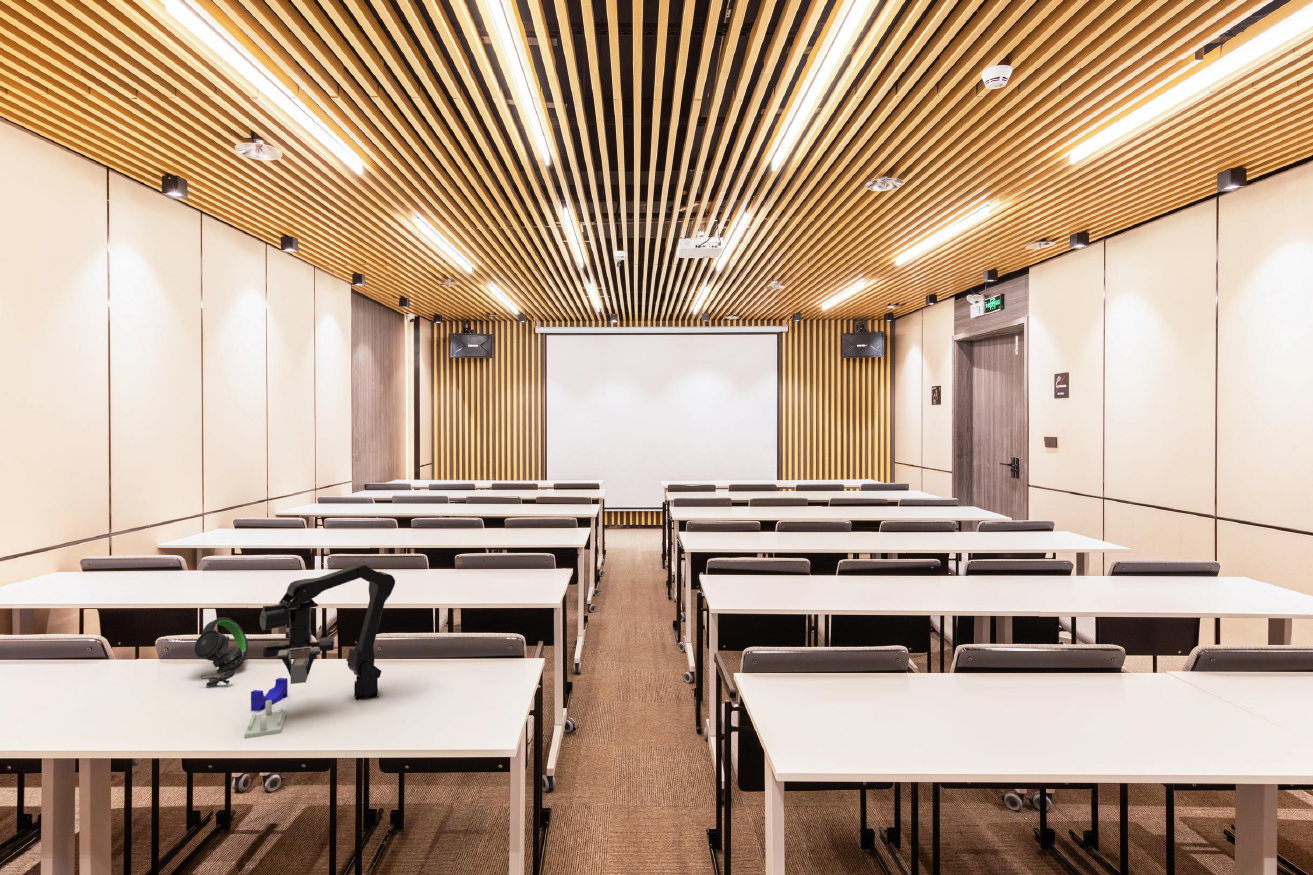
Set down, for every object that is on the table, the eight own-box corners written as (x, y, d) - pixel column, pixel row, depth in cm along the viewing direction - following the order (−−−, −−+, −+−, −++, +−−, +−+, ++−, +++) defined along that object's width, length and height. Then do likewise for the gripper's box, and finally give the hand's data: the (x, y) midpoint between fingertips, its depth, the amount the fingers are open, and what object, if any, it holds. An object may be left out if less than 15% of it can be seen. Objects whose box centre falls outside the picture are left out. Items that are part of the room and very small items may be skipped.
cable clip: (275, 695, 223) (275, 677, 223) (287, 697, 222) (287, 678, 222) (246, 710, 211) (246, 691, 211) (259, 712, 210) (259, 692, 210)
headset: (213, 707, 234) (238, 644, 259) (249, 690, 234) (271, 629, 259) (174, 676, 225) (204, 614, 249) (212, 659, 225) (238, 598, 249)
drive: (308, 673, 212) (308, 657, 212) (305, 682, 205) (305, 665, 205) (294, 675, 211) (294, 658, 211) (290, 684, 203) (290, 666, 203)
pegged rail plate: (286, 713, 208) (286, 697, 208) (281, 732, 195) (281, 714, 195) (252, 718, 205) (251, 701, 205) (244, 738, 192) (244, 720, 192)
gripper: (335, 614, 219) (335, 663, 219) (268, 619, 212) (267, 670, 212) (333, 623, 209) (333, 674, 209) (263, 629, 201) (262, 682, 201)
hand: (299, 675), depth 208 cm, fingers closed on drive, 4 cm apart
